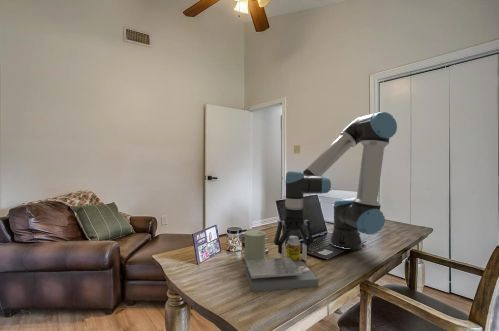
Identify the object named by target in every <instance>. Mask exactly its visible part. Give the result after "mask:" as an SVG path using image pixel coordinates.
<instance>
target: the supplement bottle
mask: <svg viewBox="0 0 499 331" xmlns="http://www.w3.org/2000/svg"><path fill="white" fill-rule="evenodd" d="M286 258H291V259H292V260H293V261H294V262H300V261H301V242H300V241H299V236H298V235H290V236H288V240H287V242H286Z"/></svg>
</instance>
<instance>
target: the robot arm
mask: <svg viewBox="0 0 499 331" xmlns="http://www.w3.org/2000/svg"><path fill="white" fill-rule="evenodd" d="M397 130H398V124H397V120H396V119H395V118H394V116H393V115H392V114H391V113H389V112H385V111H381V112H374V113H372V114H367V115H363V116H358V117H357V118H355V119H354V120H353V121H351V123H349V124H348V125H347V126H345V128H343V130H341V131H340V133H339V137H338V138H336V139H335V140H334V141H333V142H332V143H331V144H330V145H329V146H328V147H327V148H326V149H325V150H324V151H323V152H322V153H321V154H320V155H319V156H318V157H317V158H316V159H314V160H313V162H312V163H311V164H310V165H309V166H307V167H306V168H305V169H304V170H303V171H298V170H297V171H292V170H290V171H287V172H286V174H285V181H284V183H285V184H284V185H285V200H284V202H285V203H284V205H285V209H284V212H285V213H284V217H285V218H284V220H278V221H277V228H276V232H275V236H274V240H273V243H274V244H275V246H277V252H278V254H279V258H285V247H284V243H285V241H286V239H287V237H288V235H289V233H290V232H291V231H294V230H295V231H298V233H299V234H300V236H301V239H302V242H303V243H302V256H301V257H302V260H303V261H305V262H307V259H308V258H307V255H308V254H307V253H309V248H310V245H311V244H313V243H314V240H313V235H312V230H311V221H310V220H308V219H304V209H303V208H304V194H310V195H311V194H314V195H315V194H316V195H317V194H321V195H323V194H327V193H329V192H330V191H331V189H332V182H331V179H330V178H329V177H328V176H327V175H324V174H325V173H326V172H327V171H328V170H329V169H330V168H331V167H332V166H333V165H334V164H335V163H336V162H337V161H338V160H339V159H340V158H342V156H344V155H345V153H347V151H348V150H349V149H350V148H354V147H356V146H357V145H358V144H359V143H360V144H362V147H363V148H362V152H361V153H362V154H361V162H360V170H359V175H358V176H359V177H358V184H357V193H356V197H355V198H354V199H337V200H335V201H334V203H333V230H332V233H331V235H330V238H329V244H330V243H332V244H333V245H336V246H339V247H344V248H350V250H349V251H358V250H361V249H362V247H363V241H362V239H361V236H360V233H362V234H365V235H370V236H372V235H375V234H377V233H379V231H380V232H381V230H382V229H383V227H384V226H385V222H386V218H385V215H384V213H383V212H382V211H381V206H382V205H381V203H380V202H379V201H378V197H379V190H380V183H381V177H382V176H381V175H382V174H381V173H382V167H383V161H384V153H385V148H386V147H387V146H388V145H389V144H390V139H391V138H392V137H393V136H394V135H396V133H397ZM284 225H285V228H284V231H283V232H282V230H283V226H284ZM303 225H304V226H305V232H306V234H305V232H304V230H303V228H302V226H303ZM281 234H282V235H281Z"/></svg>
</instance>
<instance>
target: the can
mask: <svg viewBox="0 0 499 331" xmlns="http://www.w3.org/2000/svg"><path fill="white" fill-rule="evenodd" d="M243 259H244V261H245V260H259V259H266V232H265V231H264V230H260V229H250V230H245V231H244V257H243Z"/></svg>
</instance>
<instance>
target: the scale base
mask: <svg viewBox="0 0 499 331" xmlns="http://www.w3.org/2000/svg"><path fill="white" fill-rule="evenodd" d="M294 263H295V264H296V265H297V266H298V267H299V268H300V270H301V271H302V272H303V275H292V276H278V277H264V278H251V276H250V273H249V271H248V268H247V265H246V264H244V274H245V276H246V279H247V281H248V284H249V288H250V291H251V292H264V291H265V292H266V291H275V290H291V289H299V288H300V289H301V288H314V287H319V278H318V277H317V276H316V275H315V274H314V273H313V271H311V270H310V268H309V267H308V266H307V265H306V264H305V263H304V262H303V261H301V260H300V261H299V262H294Z"/></svg>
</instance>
